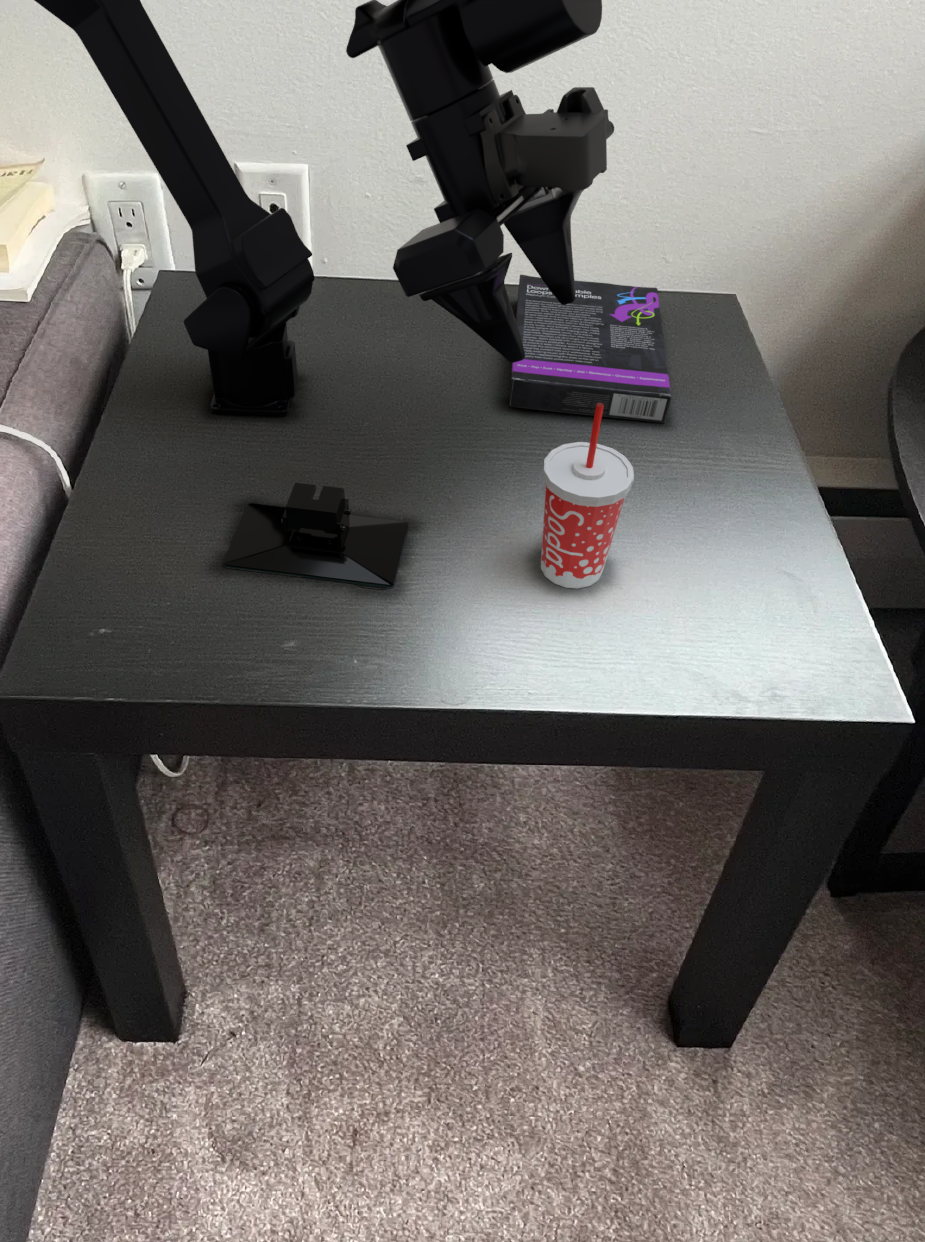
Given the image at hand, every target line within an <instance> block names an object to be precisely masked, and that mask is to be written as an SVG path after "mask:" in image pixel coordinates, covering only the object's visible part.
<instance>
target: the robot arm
mask: <svg viewBox="0 0 925 1242" xmlns="http://www.w3.org/2000/svg"><path fill="white" fill-rule="evenodd" d="M33 1H34V2H36V3H37V4H38V5H40V6H41V7H42V8H44V9H45V10H46V11H48V13H50V14H52V16H54V17H56V18H57V19H58V20H59V21H61V22H62V23H64V25H66V26H68V27H69V28H70V29H72V31H74V33H75V34H76V35H77V36H78V38H79V39H80V41H81V43H82V44H83V46H84V48H85V49H86V51H87V53H88V54H89V57H90V58H91V60H92V61H93V63H94V65H95V67H96V68H97V70H98V72H99V73H100V75H101V77H102V79H103V81H104V82H105V85H106V86H107V87H108V89H109V91H110V92H111V94H112V96H113V97H114V99H115V101H116V102H117V104H118V106H119V108H120V110H121V111H122V113H123V114H124V116H125V118H126V120H127V121H128V123H129V124H130V126H131V128H132V130H133V132H134V133H135V135H136V137H137V139H138V140H139V142H140V144H141V146H142V147H143V149H144V150H145V152H146V154H147V155H148V158H149V159H150V161H151V162H152V164H153V166H154V167H155V169H156V171H157V173H158V174H159V176H160V178H161V179H162V181H163V183H164V184H165V186H166V188H167V190H168V191H169V193H170V195H171V196H172V198H173V200H174V201H175V203H176V205H177V207H178V209H179V210H180V212H181V213H182V215H183V217H184V219H185V221H186V222H187V224H188V226H189V228H190V230H191V236H192V237H191V238H192V248H193V250H192V251H193V262H194V272H195V275H196V278H197V280H198V283H199V285H200V287H201V289H202V291H203V293H204V295H205V297H206V299H205V300H204V301H202V302H201V303H200V304H199V305H198V306H197V307H196V308H195V309H194V310H193V311H192V312H191V313H190V314H188V315H187V317H186V318H184V320H183V325H184V327H185V330H186V332H187V334H188V336H189V339H190V341H191V344H192V345H193V346H195V347H198V348H200V349H204V350H206V351H207V355H208V361H209V370H210V376H211V382H212V388H213V395H212V399H211V402H210V405H209V406H210V411H211V412H212V413H214V414H230V415H231V414H232V415H233V414H234V415H261V416H285V415H288V413H289V409H290V405H291V399H293V398H295V397H296V393H297V387H298V383H299V377H298V366H297V365H298V364H297V353H296V342H295V341H294V340H293V339H289V337H288V325H287V322H288V321H290V320H291V319H294V318H296V316H298V314H299V310H300V308H301V306H302V305H304V303H306V302H307V301H308V299H309V298H310V297H311V294H312V291H313V286H314V282H315V280H316V279H315V274H314V269H313V267H312V264H311V262H310V260H309V259H310V258H311V257H312V256H313V252H312V251H311V250H310V249H309V248H308V247H307V246H306V245H305V243H304V241H302V239H301V237H300V236H299V233H298V230H297V229H296V227H295V224H294V221H293V218H292V216H291V215H290V214H289V213H288V211H287V210H286V209H285V208H283V207H280V208H279V209H277V210H275V211H274V212H272V213H270V212H269V211H268V210H266V209H265V208H264V207H262V206H261V205H259V204H257V202H255V201H253V199H251V198H250V197H249V196H248V194H247V192H246V190H244V187H243V186H242V183H241V181H240V180H239V178H238V176H237V175H236V173H235V171H234V169H233V167H232V165H231V164H230V161H229V160H228V158H227V156H226V154H225V152H224V151H223V149H222V147H221V146H220V143H219V142H218V140H217V138H216V137H215V135H214V132H213V130H212V129H211V127H210V126H209V124H208V122H207V120H206V118H205V117H204V115H203V112H202V111H201V109H200V107H199V106H198V103H197V101H196V100H195V99H194V97H193V94H192V93H191V90H190V89H189V87H188V86H187V83H186V82H185V80H184V78H183V77H182V74H181V73H180V71H179V69H178V67H177V65H176V64H175V62H174V60H173V58H172V57H171V54H170V53H169V50H168V49H167V47H166V45H165V44H164V41H163V40H162V38H161V36H160V34H159V33H158V31H157V29H156V27H155V26H154V23H153V22H152V20H151V18H150V16H149V14H148V12H147V11H146V9H145V7H144V6H143V4H142V1H141V0H33ZM602 19H603V1H602V0H396V1H394V2H392V3H390V4H388V5H386V4H384V3H381V2H380V1H379V0H369V1H367V2H364V3H362V4H360V5H358V6H356V7H355V9H354V24H353V26H352V30H351V32H350V35H349V38H348V42H347V45H346V48H345V52H346V55H347V56H348V57H349V58H351V59H356V58H358V57H359V56H361V55H363V54H365V53H368V52H370V51H371V50H373V49H375V48H377V47H378V50H379V51H380V54H381V56H382V58H383V61H384V63H385V65H386V67H387V70H388V72H389V74H390V75H389V76H390V77H391V79H392V81H393V84H394V85H395V89H396V91H397V93H398V96H399V98H400V100H401V103H402V105H403V107H404V109H405V112H406V115H407V116H408V119H409V122H410V124H411V126H412V128H413V131H414V133H415V135H416V138H415V139H413V140H412V141H411V142H409V143H408V144H406V145H405V146H406V149H407V151H408V153H409V155H410V158H411V161H412V162H416V160H420V159H421V158H424V157H425V158H426V161H427V164H428V166H429V168H430V170H431V172H432V175H433V177H434V179H435V183H436V185H437V186H438V189H439V191H440V194H441V196H442V198H443V201H442V202H440V203H439V204H438V205H437V206H435V207H434V208H433V210H434V213H435V215H436V217H437V220H438V223H436V224H433V225H430V226H428V227H425V228H424V229H421V230H420V231H419V232H418V233H416V234H415V235H414V236H413V237H411V238H410V239H409V240H408V241H407V242H405V243H404V244H403V245H402V246H400V247H399V248H398V249H397V250H396V253H395V258H394V262H393V265H392V270H393V272H394V274H395V276H396V278H397V280H398V283H399V285H400V286H401V289H402V291H403V293H404V295H405V296H406V297H407V298H410V297H413V296H417V295H418V296H419V298H420V299H421V300H422V302H427V301H430V300H432V301H433V302H434V303H436V304H437V305H438V306H440V308H443V309H444V310H445V311H446V312H448V313H450V314H451V315H452V316H454V317H455V318H456V319H458V320H459V321H460V322H462V323H463V324H464V325H466V326H467V327H468V328H469V329H470V330H472V331H473V332H474V334H476V335H477V336H479V337H480V338H481V339H482V340H483V341H485V342H486V343H487V344H488V345H489V346H491V347H492V348H493V349H494V350H495V351H496V352H497V353H498V354H499V355H501V356H502V357H503V358H505V360H507V361H508V362H509V363H511V364H512V363H514V362H518V361H522V360H523V359H524V358H525V351H524V347H523V343H522V339H521V335H520V332H519V329H518V326H517V323H516V316H515V314H514V310H513V307H512V304H511V301H510V298H509V294H508V291H507V288H506V285H505V280H506V278H507V273H508V271H509V267H510V265H511V262H512V258H513V252H508V253H506V254H503V253H504V251H505V250H504V248H505V245H504V244H505V243H504V242H505V235H504V233H503V229H502V226H503V225H504V227H505V228H506V230H507V231H508V233H509V234H510V235H511V237H512V238H513V240H514V241H515V242H516V244H517V245H518V247H519V249H521V251H522V253H523V254H524V256H525V257H526V258H527V260H528V261H529V263H530V264H531V265H532V267H533V268H534V270H535V271H536V273H537V275H538V276H539V277H540V278H542V280H543V281H544V283H545V284H546V285H547V287H548V288H549V290H550V291H551V292H552V293H553V295H554V296H555V297H556V298H557V300H558V301H559V302H560V303H561V304H562V305H566V304H569V303H572V302H573V301H574V300H575V299H576V294H575V282H574V280H575V270H574V269H575V268H574V259H573V257H574V256H573V246H572V223H571V222H572V221H571V219H572V215H573V212H574V209H575V208H576V205H577V203H578V201H579V199H580V197H581V195H582V193H583V192H585V190H586V189H589V188H590V187H591V186H592V185H593V183H594V179H595V178H596V177H598V176H599V174H604V173H605V172H606V171H607V170H608V154H607V153H608V152H607V151H608V150H607V149H608V148H607V140H608V139H609V138H610V137H611V136H612V135H613V134H614V132H615V125H614V123H613V122H612V121H611V120H609V109H606V108H604V106H603V103H602V102H601V99H600V97H599V95H598V93H597V91H596V89H595V87H593V86H589V87H588V86H575V87H572V88H570V90H568V91H566V93H564V94H563V95H562V97H561V100H560V102H559V105H558V108H557V110H556V111H555V110H554V109H553V108H547V109H546V110H545V111H544V112H542V113H526V110H525V109H524V106H523V104H522V101H521V99H520V97H519V95H517V94H514V92H513V90H512V89H511V90H508V91H506V92H504V93H501V94H500V92H499V90H498V87H497V84H496V81H495V79H494V77H493V75H492V74H493V73H492V71H491V69H490V67H489V66H490V65H493V66H494V67H495V68H496V69H497V70H499V71H500V72H503V73H505V74H511V73H514V72H516V71H518V70H520V69H522V68H524V67H526V66H529V65H531V64H533V63H536V62H537V61H539V60H541V59H543V58H545V57H548V56H550V55H553V54H555V53H556V52H559V51H561V50H563V49H564V48H565V49H566V48H567V47H569V46H571V45H573V44H575V43H578V42H580V41H581V40H582V41H583V40H584V39H586V38H588V37H590V36H592V35H594V34H596V33H597V32H598V30H599V29H600V27H601V23H602Z"/></svg>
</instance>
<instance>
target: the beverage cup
mask: <svg viewBox="0 0 925 1242" xmlns="http://www.w3.org/2000/svg"><path fill="white" fill-rule="evenodd" d="M603 408H604V404H602V403H597V404H596V410H595V416H593V422H592V428H591V434H590V439H589V442H586V441H576V442H569V443H563V444H562V445H559V446H558V447H556V448H553V449H552V450H550V452H549V453H548V454H547V456H546V457H545V458H544V459H543V473H542V474H543V475H542V481H543V483H544V484H545V492H544V493H545V494H544V495H545V496H544V507H543V508H544V509H543V510H544V511H543V525H542V537H541V538H542V540H541V541H542V542H541V556H540V569H541V571H542V573H543V575H544V577H545V578H547V580H549V581H550V582H551V583H553V584H555V585H557V586H560V587H563V588H567V589H582V588H588V587H591V586H592V585H594V584H595V583H597V582H599V580H600V578H601V576H602V575H603V572H604V570H605V565H606V563H607V560H608V556H609V552H610V549H611V545H612V541H613V538H614V535H615V531H616V528H617V525H618V521H619V518H620V515H621V511H622V508H623V505H624V501H625V498H626V497H627V495H628V494H629V493H630V490H632V485H633V483H634V480H635V474H634V467H633V465H632V464H631V462H630V461H629V459H628V458H627V456H625V455H623V454H622V453H620V452H619V451H618V450H616V449H615V448H614V447H613V448H612V447H609V446H606V445H603V444H600V443H598V440H599V435H600V429H601V424H602V418H603V417H602V413H603Z"/></svg>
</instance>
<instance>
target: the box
mask: <svg viewBox="0 0 925 1242" xmlns="http://www.w3.org/2000/svg"><path fill="white" fill-rule="evenodd" d="M574 282H575V294H576V299H575V300H574V301H573V302H572V303H569V304H566V305H562V304H561V303H560V302H559V301H558V300H557V298H556V297H555V296H554V295H553V293H552V292H551V291H550V290H549V288H548V287H547V285H546V284H545V283H544V281H543V280H542V278H541V277H540V276H532V275H527V274H519V280H518V291H517V292H518V293H517V302H516V313H515V314H516V316H515V319H516V323H517V326H518V329H519V332H520V335H521V339H522V343H523V347H524V351H525V358H524V359H523V360H522V361H518V362H514V363H512V362H511V377H510V389H509V406H510V407H511V408H519V409H528V410H538V411H548V412H557V413H565V414H574V415H584V416H592V417H594V416H595V410H596V404H597V403H602V404H604V408H603V413H602V418H603V417H605V418H612V419H613V418H614V419H624V420H631V421H632V420H633V421H641V422H642V421H645V422H652V423H660V424H665V421H666V417H667V414H668V411H669V407H670V404H671V400H672V397H673V396H672V390H671V383H670V378H669V369H668V362H667V354H666V347H665V339H664V338H665V337H664V332H663V331H664V330H663V321H662V315H661V308H660V299H659V289H658V287H647V286H634V285H623V284H617V283H616V284H615V283H610V282H609V283H607V282H597V281H585V280H575V279H574Z"/></svg>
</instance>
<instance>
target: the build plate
mask: <svg viewBox="0 0 925 1242" xmlns="http://www.w3.org/2000/svg"><path fill="white" fill-rule="evenodd" d="M316 492H317V485H316V484H312V483H303V482H294V484H293V487H292V489H291V492H290V493H289V497H288V500H287V502H286V504H285V506H279V505H278V506H277V505H270V504H263V503H262V504H261V503H253V502H252V503H251V502H249V503H248V504H247V507H246V509H245V511H244V512H243V513H244V514H243V515H242V518H241V520H240V523H239V525H238V527H237V529H236V532H235V534H234V536H233V538H232V541H231V543H230V545H229V548H228V550H227V552H226V555H225V557H224V559H223V561H222V564H223V567H224V568H226V569H232V570H233V569H235V570H242V571H250V572H258V573H266V574H273V575H282V576H290V577H298V578H306V579H313V580H322V581H331V582H339V583H345V584H346V583H347V584H355V585H357V586H359V587H361V588H366V589H375V590H380V591H381V590H382V591H383V590H387V589H392V588H394V587H395V584H396V581H397V575H398V571H399V567H400V563H401V560H402V556H403V552H404V549H405V548H404V547H405V544H406V540H407V535H408V531H409V527H410V526H409V525H410V524H409V522H408V521H404V520H395V519H386V518H378V517H371V516H361V515H354V514H352V508H350V502H349V501H350V500H349V498H346V496H345V495H346V493H345V487H338V486H337V487H336V486H331V485H330V486H329V485H323V486H322V489H321V492H320V494H319V497H318V499H315V498H314V497H315V495H316Z"/></svg>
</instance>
